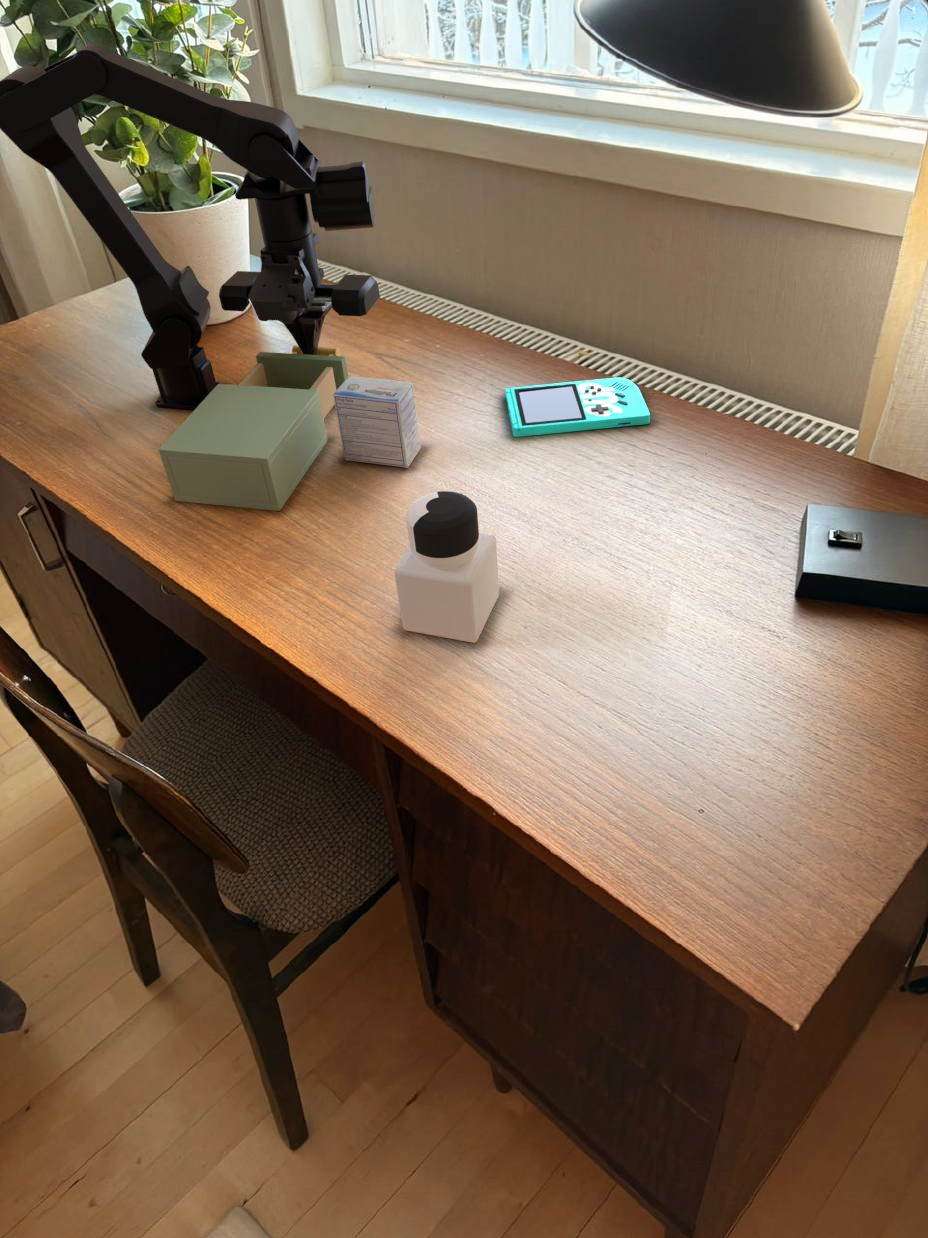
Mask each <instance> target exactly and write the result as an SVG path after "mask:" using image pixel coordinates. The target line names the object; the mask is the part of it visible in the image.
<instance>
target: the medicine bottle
mask: <svg viewBox="0 0 928 1238" xmlns="http://www.w3.org/2000/svg"><path fill="white" fill-rule="evenodd" d="M405 519H406V528H407V535H408V543H409V546H408V547H407V549H406V551H405V552H404V554H403V556H401V559H400V560H399V562H398V564H397V565H396V566H395V568H394V580H395V586H396V592H397V598H398V606H399V611H400V617H401V623H402V625H401V626H402V629H403V630H404V631H406V632H407V631H408V632H412V633H418V634H423V635H428V636H434V637H440V638H446V639H451V640H454V641H455V640H456V641H461V642H468V643H473V644H476V643H477V642H478V640H479V638H480V636H481V634H482V632H483V629H484V628H485V626H486V624H487V622H488V619H489V617H490V615H491V612H492V611H493V609H494V607H495V605H496V602H497V600H498V599H499V596H500V581H499V564H498V550H497V548H498V547H497V536H495V534H492V533H485V532H480V530H479V528H480V527H479V515H478V507H477V505H476V503H475V502H474V501H473V500H472V499H471V498H469V497H468V496H467V495H464V494H463V493H460V492H456V491H451V490H449V491H448V490H441V491H434V492H429V493H426V494H424V495H422V496H419V497H418V498H417V499H415V500H414V501H413V502H412V503H411V504H410V505H409V507H408V508H407V510H406V513H405Z"/></svg>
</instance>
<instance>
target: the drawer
mask: <svg viewBox="0 0 928 1238" xmlns="http://www.w3.org/2000/svg"><path fill="white" fill-rule="evenodd" d="M291 351H292V352H291V353H287V352H271V351H269V352H268V351H259V352H258V353H257V354H256V355H255V359H256V364H255V365H254V366H253V367H252V368H251V370H249V372H247V374H246V375H245V376H244V377H243V379H241V381H239V383H238V384H237V385H246V386H261V387H277V388H292V389H308V390H318V392H319V397H320V403H321V408H322V413H323V418H324V419H326V417H327V416H328V414H329V412H330V411H331V410H332V408H333V407H334V406H335V403H334V398H333V394H334V393H335V392H336V391H337V389H338V388H339V387H340V386H341V385H342V384H343V383H344V382H345V380H346V379H347V378H348V377H349V375H348V374H349V373H348V368H347V362H346V357H345V356H344V355H343V356H341V351H340V348H339V347H331V346H330V347H327V346H318V348H317V353H316V355H307V354H303V353H302V351H301V349H300V348H299V346H298V345H293V346H292V349H291Z"/></svg>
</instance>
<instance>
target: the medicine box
mask: <svg viewBox="0 0 928 1238" xmlns="http://www.w3.org/2000/svg"><path fill="white" fill-rule="evenodd" d="M413 385H414V384H413V383H412V382H410V381H403V380H402V381H401V380H393V379H383V378H375V377H364V376H353V375H351V376H349V375H348V378H347V379H346V380H345V382H344V383H343V384H342V385H341V386H340V387H339V388H338V389H337V391H336V392H335V393H334V394H333V398H334V403H335V404H334V406H335V413H336V419H337V423H338V428H339V433H340V439H341V444H342V450H343V455H344V460H345V461H351V462H360V463H367V464H374V465H383V466H391V467H398V468H405V469H408V468H410V465H412V462H413V461H414V459H415V458H416V456H417V455H418V454H419V452H420V450H421V449H422V444H421V437H420V431H419V430H420V429H419V424H418V423H419V422H418V416H417V409H416V401H415V393H414V386H413Z"/></svg>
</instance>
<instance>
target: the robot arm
mask: <svg viewBox="0 0 928 1238" xmlns="http://www.w3.org/2000/svg"><path fill="white" fill-rule="evenodd" d="M94 95H96V96H97V95H98V96H101V97H103V98H106V99H108V100H110V101H113V102H115V103H118V104H120V105H122V106H125V107H127V108H130V109H132V110H135V111H137V112H139V113H142V114H144V115H147V116H149V117H152V118H154V119H156V120H158V121H161V122H163V123H165V124H167V125H170V126H172V127H175V128H177V129H180V130H182V131H184V132H187V133H189V134H192V135H193V136H196V137H199V138H201V139H203V140H205V141H207V142H208V143H210V144H211V145H213V146H214V147H215V148H217V149H218V150H219V151H220V152H221V153H223V154H224V155H225V157H227V158H228V159H229V160H231V161H232V162H233V163H235V164H237V165H239V166H240V167H242V168H243V169H245V170H246V172H245V174H244V177H243V180H242V181H241V183H239V185H238V188H237V189H236V191H235V194H234V198H235V199H236V200H238V201H239V200H251V199H254V203H255V208H256V212H257V213H256V214H257V216H258V221H259V226H260V231H261V235H262V240H263V246H264V247H263V248H262V249H260V251H259V252H260V262H261V265H260V271H249V270H247V271H246V270H245V271H244V270H237V271H236V272H234V273H233V275H231V276H230V277H229V278H228V279H227V280H226V281H225V282H224V283H223V284H222V285H221V286H220V287H219V292H218V299H219V302H220V306H221V309H222V310H223V311H224V312H225V311H228V312H229V311H230V312H245V310H246V309H247V308H248V306H249V305H250V303H251V306H252V309H253V310H254V312H255V315H256V317H257V319H258V320H259V321H261V322H268V321H277V322H280V323H282V324H283V325H284V327H285V328H286V330H287V331H288V332H289V333H290V335H291V336H292V338H293V340H294V341H295V343H296V345H297V346H299V348H300V349H301V351H302V353H303V354H307V355H316V353H317V348H318V347H319V344H320V338H321V334H322V329H323V326H324V325H323V324H324V321H325V318H326V316H327V315H328V313H329V312H331V310H333V311H334V312H335V313H336V314H337V315H339V316H341V317H342V316H344V317H363V316H367V314H368V313H369V311H370V310H371V309H372V308H373V306H374V305H375V304H376V302H378V300H379V298H380V297H381V296H380V288H379V283H378V281H377V280H375V278H374V277H373V276H372V275H371V274H370V275H369V274H344V275H343V277H342V278H341V279H340V280H339V281H338V282H337V283H336V284H333V283H327V282H326V283H324V282H322V280H323V279H324V277H325V272H324V268H323V267H319V263H318V257H317V251H316V246H317V244H318V243H319V237H318V236H319V235H318V233H313V230H312V229H313V228H312V223H311V217H310V212H309V206H308V200H307V195H309V200H310V208H311V215H312V218H313V220H314V223H318V227H319V229H320V228H324V231H325V232H335V231H346V230H347V231H348V230H359V229H369V228H370V229H372V228H375V224H376V217H375V202H374V194H373V188H372V186H371V185H370V180H369V175H368V172H367V166H366V162H365V161H354V162H351V163H347V164H340V165H328V166H321V165H322V161H321V160H320V159H319V158H318V157H317V155H316V154H315V153H314V151H312V150H311V149H310V148H309V147H308V146H307V145H306V143H305V142H304V141H303V140H302V139H301V138H300V137H299V131H298V129H297V126H296V124H295V123H294V121H293V118H292V116H290V115H289V114H288V113H287V112H285V111H283V110H282V109H280V108H278V107H273V106H270V105H266V104H260V103H256V102H253V101H248V100H247V101H246V100H235V99H227V98H223V97H219V96H216V95H214V94H212V93H209V92H207V91H204V90H203V89H200V88H198V87H196V86H193V85H191V84H189V83H186V82H184V81H181V80H179V79H177V78H174V77H172V76H171V75H168V74H166V73H163V72H161V71H159V70H156V69H154V68H152V67H150V66H147V65H145V64H143V63H140V62H138V61H136V60H134V59H131V58H128V57H127V56H124V55H122V54H120V53H117V52H114V51H113V50H112V49H110V48H109V47H108V46H106V45H104V44H103V43H98V42H91V43H90V42H89V43H87V44H86V45H84V46H83V47H82V48H81V49H79V50H78V51H76V52H75V53H73V54H70V55H69V56H67V57H64V58H62V59H60V60H57V61H56V62H54V63H52V64H50V65H48V66H46V67H44V68H38V67H37V66H33V65H32V66H31V65H30V66H29V65H27V66H26V65H25V66H21V67H20V68H19V67H18V68H16V69H15V70H14V71H12V72H11V73H10V74H8V75H6V76H5V77H4V78H2V79H1V80H0V130H1V132H3V133H4V135H5V136H6V137H7V138H8V139H9V140H10V141H11V142H12V143H13V144H14V145H15V146H16V147H17V148H18V149H19V150H20V151H21V152H22V154H25V156H27V157H29V158H30V159H32V160H33V161H35V162H36V163H37V164H39V165H40V166H41V167H43V168H45V169H46V170H48V171H49V172H50V173H51V174H52V176H53V177H54V178H55V180H56V181H57V183H58V184H59V185H60V187H61V188H62V189H63V191H65V193H66V195H67V196H68V197H69V198H70V200H71V201H72V202H73V204H74V206H75V207H76V208H77V209H78V211H79V213H81V215H82V216H83V217H84V219H85V220H86V222H87V223H88V224H89V225H90V227H91V228H92V230H93V231H94V232H95V234H96V235H97V236H98V238H99V239H100V241H101V242H102V243H103V245H104V246H105V247H106V249H107V250H108V251H109V253H110V254H111V255H112V257H113V258H114V259H115V261H116V262H117V263H118V265H119V266H120V268H121V269H122V270H123V271H124V273H125V274H126V276H127V277H128V278H129V280H130V281H131V283H132V284H133V286H134V287H135V291H136V293H137V296H138V300H139V303H140V307H141V309H142V312H143V316H144V317H145V320H146V321H147V322H148V324H149V327H150V328H151V330H152V332H151V334H150V336H149V337H148V340H147V342H146V343H145V346H144V348H143V349H142V351H141V353H140V354H141V355H140V356H141V358H142V359H143V360H144V362H145V363H146V364H147V366H148V367H149V368H150V369H151V370H152V374H153V377H154V379H155V383H156V385H157V389H158V392H159V395H160V396H159V398H157V399H156V400H155V401H154V404H155V406H156V407H157V408H171V409H172V408H173V409H185V410H195V409H196V408H197V407H198V406H199V405H200V403H201V402H202V401H203V400H204V399H205V398H206V397H207V396H208V395H209V394H210V392H211V391H212V390H213V389H214V388H215V387H216V386H217V385H218V384H221V382H220V381H216V378H215V374H214V370H213V367H212V362H211V360H210V359H207V355H206V352H205V348H204V347H203V346H199V345H198V344H199V342H200V341H201V339H202V337H203V335H204V332H205V330H206V328H207V325H208V322H209V320H210V316H211V312H212V311H211V309H212V307H211V303H210V301H209V299H208V297H209V295H210V291H209V290H207V289H206V288H205V287H204V286H203V285H202V284H201V283H200V282H199V280H198V279H197V276H196V274H195V272H194V270H193V268H191V266H190V265H186V266H185V267H184V268H183V269H182V270H179V269H178V268H177V267H174V266H173V265H171V264H170V263H169V262H168V261H166V259H165V258H164V257H163V255H162V253H160V251H159V249H158V248H157V247H156V246H155V244H154V242H153V241H152V239H151V238H150V237H149V236H148V233H147V232H146V231H145V230H144V228H143V227H142V226H141V224H140V223H139V221H138V220H137V218H136V217H135V216H134V214H133V213H132V211H131V210H130V208H129V207H128V206H127V203H125V201H124V200H123V199H122V197H121V196H120V194H119V193H118V192H117V190H116V189H115V187H114V186H113V184H112V183H111V182H110V180H109V178H108V177H107V175H106V174H105V173H104V171H103V170H102V168H100V166H99V164H98V163H97V161H96V160H95V159H94V158H93V156H92V154H91V152H89V150H88V149H87V147H86V145H85V142H84V139H83V136H82V133H81V130H80V126H79V123H78V120H77V117H76V114H75V112H74V110H73V108H72V107H73V106H75V105H77V104H79V103H80V102H83V101H84V100H86V99H88V98H90V97H92V96H94Z"/></svg>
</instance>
